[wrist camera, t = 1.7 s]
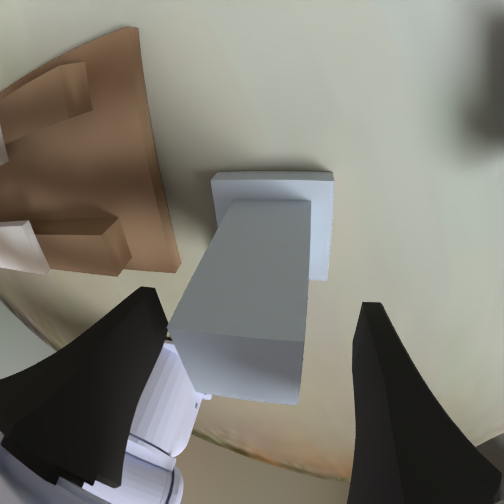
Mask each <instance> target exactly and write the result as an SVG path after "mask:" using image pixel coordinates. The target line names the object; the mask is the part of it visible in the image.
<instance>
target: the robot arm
mask: <svg viewBox="0 0 504 504" xmlns="http://www.w3.org/2000/svg"><path fill="white" fill-rule="evenodd" d="M167 326H168V321H167V319H166V316H165V314H164V311H163V308H162V306H161V303H160V300H159V298H158V295H157V292H156V290H155V288H151V287H142V286H141V287H140V288H138V289H137V290H136V291H134V292H133V293H132V294H131V295H129V296H128V297H127V298H126V299H124V300H123V301H122V302H121V303H120V304H118V305H117V306H116V307H115V308H114V309H112V310H111V311H110V312H109V313H108V314H106V315H105V316H104V317H103V318H102V319H100V320H99V321H98V322H97V323H95V324H94V325H93V326H92V327H90V328H89V329H88V330H86V331H85V332H84V333H83V334H81V335H80V336H79V337H77V338H76V339H75V340H73V341H72V342H71V343H69V344H68V345H66V346H65V347H63V348H62V349H60V350H59V351H57V352H56V353H54V354H53V355H51V356H49V357H47V358H46V359H44V360H42V361H41V362H38V363H37V364H35V365H33V366H31V367H29V368H27V369H25V370H23V371H21V372H18V373H16V374H14V375H11V376H9V377H6V378H4V379H0V504H180V502H181V498H182V494H183V486H184V484H183V477H182V475H181V473H180V470H179V468H177V467H176V466H174V465H175V462H176V458H173V457H175V456H177V455H178V454H180V453H181V452H182V451H183V450H184V448H185V447H186V446H187V444H188V441H189V438H190V435H191V432H192V429H193V425H194V422H195V419H196V416H197V413H198V410H199V407H200V404H201V401H202V399H206V400H210V399H211V398H212V395H210V394H205V393H199V392H196V391H195V389H194V387H193V385H192V383H191V381H190V379H189V376H188V374H187V372H186V370H185V368H184V366H183V363H182V361H181V359H180V357H179V354H178V352H177V350H176V348H175V345H174V343H173V341H170V340H165V338H166V335H167V332H168V329H167ZM352 373H353V386H354V401H355V418H356V439H355V450H354V461H353V469H352V476H351V483H350V490H349V495H348V501H347V504H499V503H501V502H502V501H503V499H504V493H503V478H502V473H501V472H500V471H499V470H498V469H497V468H495V466H493V465H492V464H491V463H490V462H489V461H488V460H487V459H486V458H485V457H484V456H483V455H482V454H481V453H480V452H479V451H478V450H477V449H476V448H475V447H474V445H473V444H472V443H471V442H470V441H469V440H468V439H467V438H466V436H465V435H464V434H463V433H462V432H461V430H460V429H459V428H458V427H457V426H456V424H455V423H454V422H453V421H452V420H451V418H450V417H449V416H448V414H447V413H446V412H445V410H444V409H443V408H442V406H441V405H440V404H439V402H438V401H437V399H436V398H435V396H434V395H433V394H432V392H431V391H430V389H429V388H428V386H427V384H426V383H425V381H424V380H423V378H422V376H421V375H420V373H419V372H418V370H417V368H416V367H415V365H414V363H413V361H412V360H411V358H410V356H409V354H408V353H407V351H406V349H405V347H404V346H403V344H402V342H401V340H400V338H399V336H398V334H397V333H396V331H395V329H394V327H393V325H392V323H391V321H390V319H389V317H388V315H387V313H386V311H385V309H384V307H383V305H382V304H381V303H379V302H362V306H361V311H360V315H359V319H358V323H357V327H356V331H355V335H354V338H353V350H352Z"/></svg>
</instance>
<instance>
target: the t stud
mask: <svg viewBox="0 0 504 504" xmlns="http://www.w3.org/2000/svg"><path fill="white" fill-rule="evenodd" d="M211 188H212V195H213V201H214V208H215V215H216V221H217V227H218V229H217V231H216V233H215V235H214V237H213V238H212V240H211V242H210V244H209V246H208V248H207V250H206V252H205V253H204V255H203V257H202V259H201V261H200V263H199V265H198V267H197V269H196V271H195V272H194V274H193V276H192V278H191V280H190V282H189V284H188V286H187V288H186V290H185V292H184V294H183V296H182V298H181V300H180V302H179V304H178V306H177V308H176V310H175V312H174V314H173V316H172V318H171V320H170V322H169V324H168V326H167V329H168V331H169V334H170V336H171V338H172V341H173V343H174V345H175V348H176V350H177V352H178V354H179V357H180V359H181V361H182V363H183V366H184V368H185V370H186V372H187V374H188V376H189V379H190V381H191V383H192V385H193V387H194V389H195V391H196V392H199V393H205V394H210V395H216V396H222V397H229V398H236V399H243V400H251V401H259V402H269V403H279V404H291V405H298V401H299V392H300V383H301V374H302V363H303V353H304V341H305V329H306V315H307V300H308V284H309V280H324V281H327V278H328V268H329V257H330V245H331V231H332V216H333V198H334V177H333V172H311V171H233V172H217V173H216V174H215V176H214V177H213V178H212V179H211Z"/></svg>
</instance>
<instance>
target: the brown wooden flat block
mask: <svg viewBox="0 0 504 504" xmlns="http://www.w3.org/2000/svg"><path fill="white" fill-rule="evenodd" d="M180 264H181V261H180V257H179V253H178V249H177V245H176V241H175V237H174V233H173V229H172V224H171V220H170V216H169V212H168V207H167V203H166V198H165V194H164V189H163V184H162V180H161V175H160V170H159V165H158V160H157V155H156V149H155V144H154V139H153V133H152V127H151V121H150V115H149V109H148V103H147V96H146V89H145V82H144V75H143V67H142V59H141V51H140V42H139V32H138V28H133V27H126V28H123V29H120V30H117V31H115V32H112V33H110V34H107V35H105V36H102V37H100V38H97V39H95V40H93V41H90V42H88V43H86V44H84V45H81V46H79V47H77V48H75V49H73V50H71V51H69V52H67V53H65V54H63V55H61V56H59V57H57V58H55V59H53V60H52V61H50V62H48V63H46V64H44V65H43V66H41V67H39V68H37V69H36V70H34V71H32V72H31V73H29V74H28V75H26V76H24V77H23V78H21V79H20V80H18V81H17V82H15V83H13V84H12V85H11V86H9V87H8V88H6V89H5V90H3V91H2V92H0V267H1V268H7V269H13V270H18V271H24V272H30V273H36V274H42V275H45V274H46V273H47V272H48V271H49V270H50V269H56V270H64V271H72V272H81V273H89V274H98V275H107V276H116V277H118V275H119V274H120V273H121V271H122V270H123V269H129V270H141V271H153V272H166V273H176V271H177V269H178V268H179V266H180Z"/></svg>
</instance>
